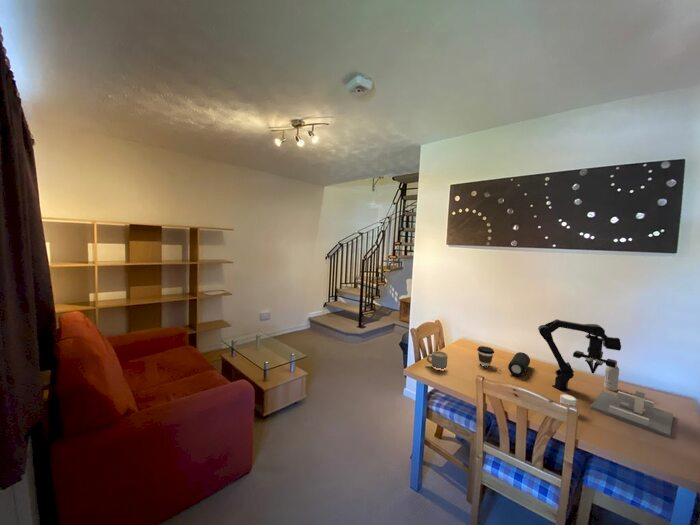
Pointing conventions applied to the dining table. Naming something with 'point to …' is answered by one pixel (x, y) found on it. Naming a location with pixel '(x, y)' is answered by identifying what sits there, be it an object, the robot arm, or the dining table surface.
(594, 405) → the breaker panel
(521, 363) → the portable speaker
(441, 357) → the coffee mug
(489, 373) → the dining table surface
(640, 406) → the beige rectangular block
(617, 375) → the energy drink can
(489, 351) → the coffee cup
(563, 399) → the white cylinder
